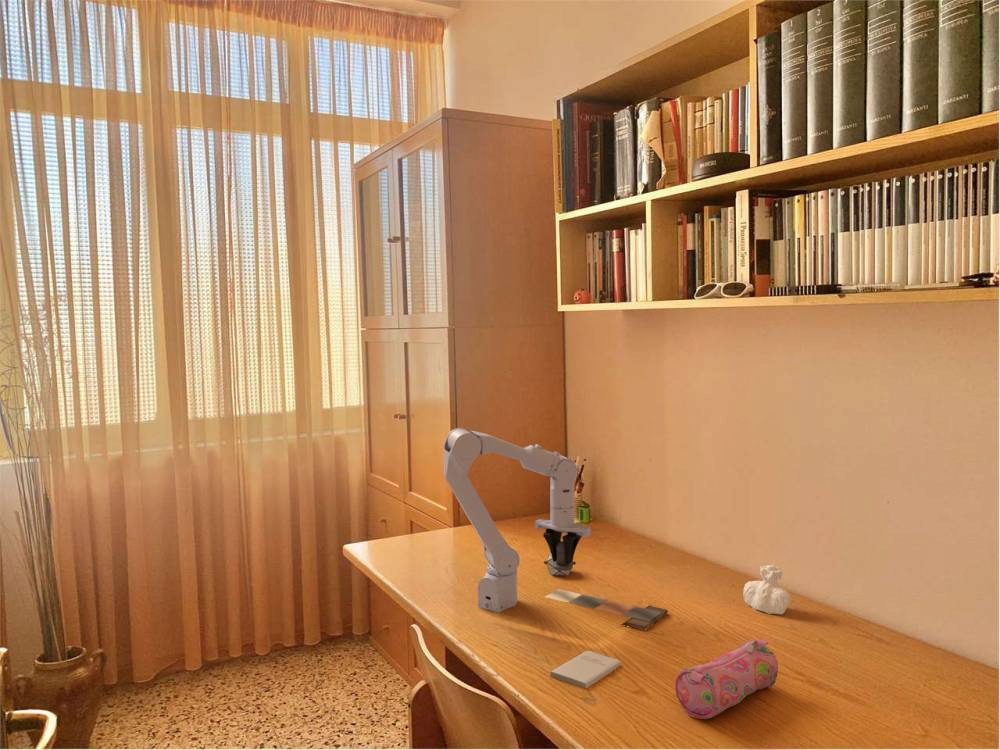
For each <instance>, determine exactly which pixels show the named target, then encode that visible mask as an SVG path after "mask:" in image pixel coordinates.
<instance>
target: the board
mask: <svg viewBox="0 0 1000 750" xmlns="http://www.w3.org/2000/svg"><path fill="white" fill-rule="evenodd" d="M544 598H546V599H550V600H554V601H558V602H564V603H569V604H573V605H577V606H580V607H584V608H589V609H594V610H597V611H601V612H607V613H610V614H611V613H612V614H615V615H619V616H623V617H629V619H628V620H626V621H624V622H623V623H622V624H621V626H622V625H625V626H624V627H626V626H629V627H628V628H630V627H634V628H633V629H635V628H638V629H637V630H639V629H642V630H641V631H643V630H645V629H647V628H648V627H649V628H651V627H652V626H653V625H655V624H656V623H657V622H659V621H660V620H662V619H663V618H664V617H665V615H666V614H667V613H669V612H668V610H669V609H666V608H663V607H662V608H661V607H657V606H653V605H647V607H645V608H644V607H639V606H634V605H632V604H627V603H622V602H618V601H614V600H608V599H604V598H600V597H595V596H591V595H587V594H581V593H577V592H573V591H569V590H564V589H559V588H558V589H556V590H555V591H553V592H550V593H549V594H547V595H545V596H544ZM667 615H668V614H667ZM667 615H666V616H667ZM663 616H664V617H663ZM662 617H663V618H662ZM661 618H662V619H661ZM659 619H660V620H659ZM658 620H659V621H658ZM656 621H657V622H656ZM655 622H656V623H655ZM654 623H655V624H654ZM652 624H653V625H652ZM651 625H652V626H651ZM650 626H651V627H650ZM649 628H648V629H649ZM648 629H647V630H648ZM645 631H646V630H645Z"/></svg>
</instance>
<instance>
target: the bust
mask: <svg viewBox="0 0 1000 750" xmlns="http://www.w3.org/2000/svg"><path fill="white" fill-rule="evenodd" d="M759 568H760V569H759V571H760V573H759V574H760V576H761V577H762V580H753V581H748V582H746V583H745V584H744V587H743V600H744V602H745V603H746V604H747V605H748V606H750V607H752V609H753V610H755V611H756V610H757V611H760V612H764V613H766V614H768V615H784V614H785V612H786V609H787V608H788V606H789V604H790V603H791V601H792V597H791V595H790V593H789V592H788V591H787V590H786V589H785V588H784V587H783V586H781V585H780V586H779V582H778V580H780V581H781V580H782V575H783V574H784V572H783V571H782V569H781V567H780V566H778V565H776V564H767V565H763V566H762V565H759Z"/></svg>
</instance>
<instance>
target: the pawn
mask: <svg viewBox="0 0 1000 750" xmlns="http://www.w3.org/2000/svg"><path fill="white" fill-rule="evenodd" d="M553 568H554V569H555V570H561V571H565V570H571V571H572V569H573V568H574V564H572V563H570V564H566V562H565V547H564V542H563V540H561V541H560V542H559V543H557V545H556V562H554V563H553Z"/></svg>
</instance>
